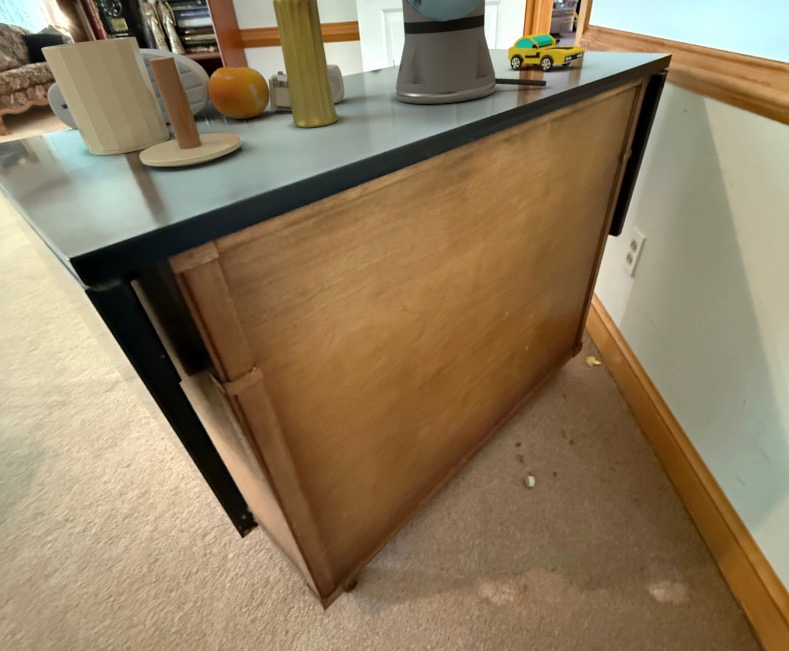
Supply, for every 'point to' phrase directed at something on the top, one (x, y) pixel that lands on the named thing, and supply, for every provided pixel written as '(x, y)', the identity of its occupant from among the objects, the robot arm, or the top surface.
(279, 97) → the transformer
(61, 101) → the boat shoe
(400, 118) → the top surface
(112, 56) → the pot
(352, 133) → the top surface
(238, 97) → the fruit
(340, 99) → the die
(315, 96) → the vase
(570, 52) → the toy car
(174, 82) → the lid
